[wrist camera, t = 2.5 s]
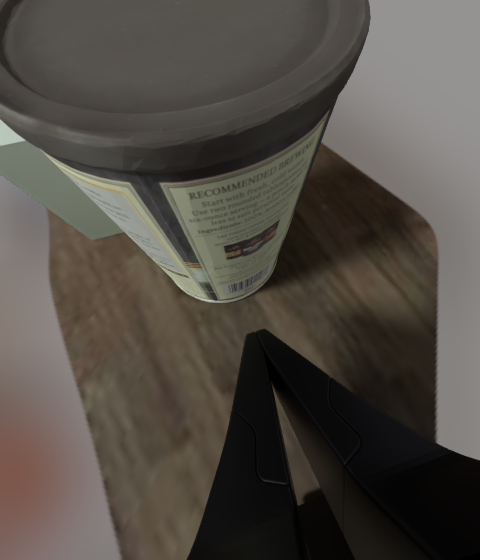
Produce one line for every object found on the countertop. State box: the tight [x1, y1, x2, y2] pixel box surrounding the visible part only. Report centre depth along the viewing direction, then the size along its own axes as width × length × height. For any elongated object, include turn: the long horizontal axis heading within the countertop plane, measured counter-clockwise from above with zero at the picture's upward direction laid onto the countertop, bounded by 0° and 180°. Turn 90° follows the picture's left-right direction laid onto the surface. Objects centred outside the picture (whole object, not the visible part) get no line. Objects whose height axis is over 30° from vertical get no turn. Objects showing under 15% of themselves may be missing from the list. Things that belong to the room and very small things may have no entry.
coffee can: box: [0, 0, 371, 303], centre depth 12 cm, size 10×10×14 cm
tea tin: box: [0, 120, 124, 240], centre depth 16 cm, size 6×6×9 cm
